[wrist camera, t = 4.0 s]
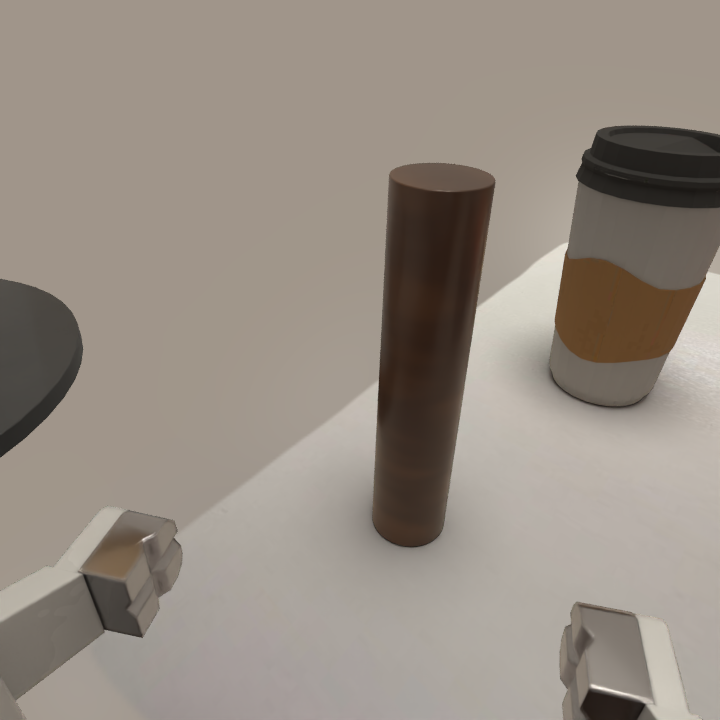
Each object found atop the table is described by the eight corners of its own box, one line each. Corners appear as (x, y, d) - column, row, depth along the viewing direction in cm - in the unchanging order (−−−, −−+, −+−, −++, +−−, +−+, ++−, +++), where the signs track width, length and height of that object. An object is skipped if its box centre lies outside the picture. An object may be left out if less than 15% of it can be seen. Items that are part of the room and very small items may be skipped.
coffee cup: (689, 383, 37) (788, 143, 29) (629, 438, 32) (728, 168, 24) (573, 334, 42) (630, 118, 34) (507, 375, 37) (554, 135, 29)
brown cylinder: (384, 553, 25) (409, 193, 16) (364, 498, 28) (376, 164, 19) (455, 538, 26) (515, 187, 17) (428, 486, 29) (468, 160, 20)
